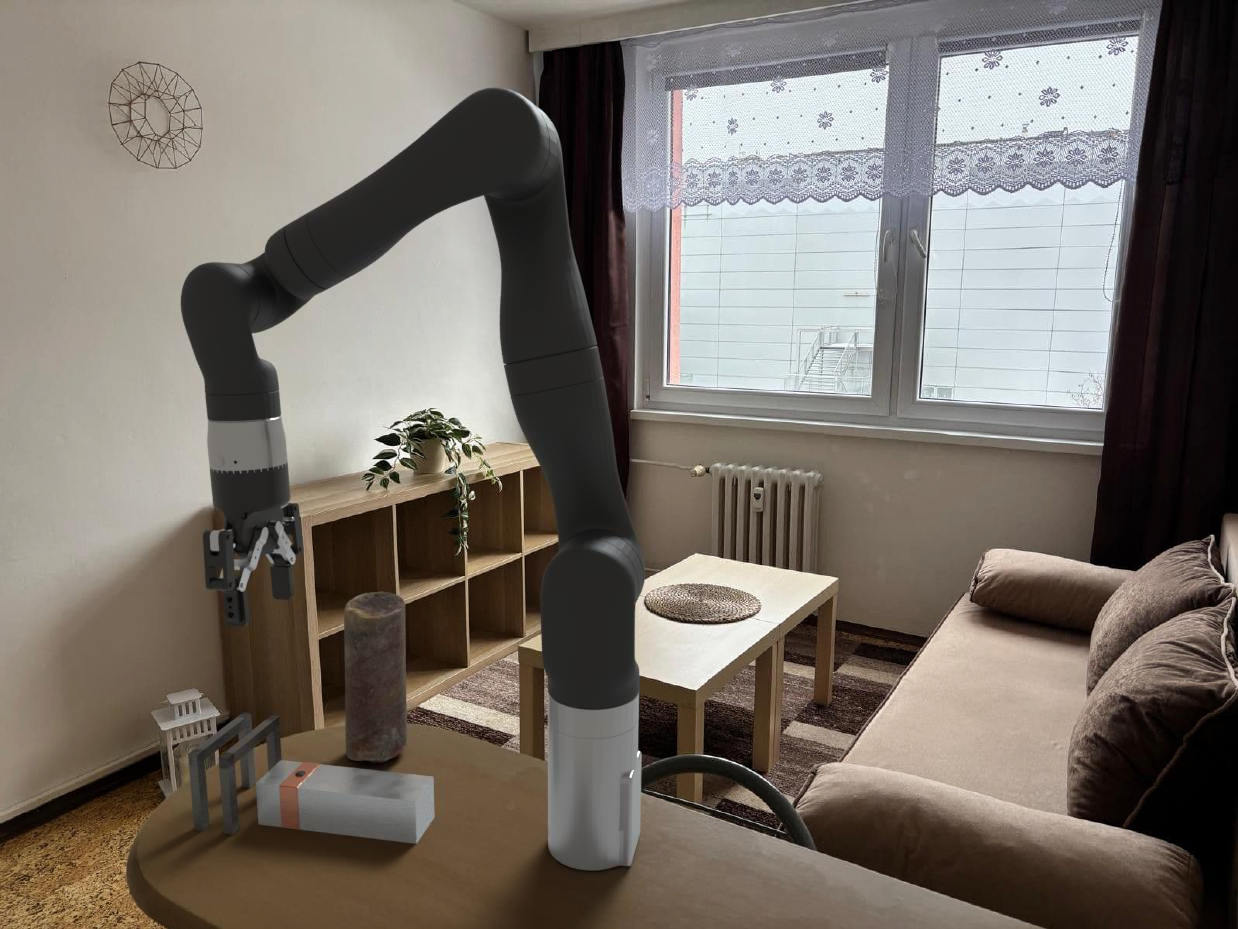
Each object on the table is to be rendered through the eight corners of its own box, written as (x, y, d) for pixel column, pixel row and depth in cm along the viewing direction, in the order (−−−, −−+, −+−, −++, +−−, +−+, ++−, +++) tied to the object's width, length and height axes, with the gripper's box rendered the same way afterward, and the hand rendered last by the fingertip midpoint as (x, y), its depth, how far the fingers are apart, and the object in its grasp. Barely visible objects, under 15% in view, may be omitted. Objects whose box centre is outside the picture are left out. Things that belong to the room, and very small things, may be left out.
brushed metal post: (434, 818, 100) (433, 774, 99) (416, 845, 95) (414, 800, 94) (283, 800, 103) (281, 758, 102) (258, 826, 98) (255, 782, 97)
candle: (417, 742, 116) (412, 592, 113) (398, 772, 109) (392, 612, 105) (359, 739, 117) (353, 589, 113) (336, 768, 110) (328, 609, 106)
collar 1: (255, 782, 106) (251, 713, 105) (202, 831, 97) (196, 755, 95) (247, 782, 106) (243, 712, 105) (194, 830, 97) (188, 754, 95)
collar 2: (283, 786, 106) (279, 716, 104) (232, 835, 96) (227, 758, 94) (275, 785, 106) (271, 715, 104) (224, 833, 96) (218, 757, 95)
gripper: (241, 475, 86) (256, 637, 89) (317, 450, 100) (327, 591, 103) (170, 473, 88) (187, 633, 91) (255, 449, 102) (267, 589, 104)
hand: (262, 611), depth 97 cm, fingers open, 8 cm apart
